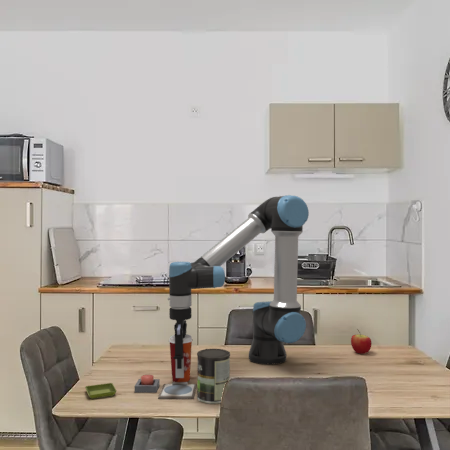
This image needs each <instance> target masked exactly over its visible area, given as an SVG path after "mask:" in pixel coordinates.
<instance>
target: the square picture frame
mask: <svg viewBox="0 0 450 450" xmlns="http://www.w3.org/2000/svg"><path fill="white" fill-rule="evenodd" d="M188 383H189V381H188V382H173V381H172V383H164V384H163V385H162V387H161V390H160V392H159V394H158V397H157V399H158V400H195V395H196V392H197V391H196V390H197V383H189V384H188Z"/></svg>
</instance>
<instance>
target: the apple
mask: <svg viewBox="0 0 450 450" xmlns="http://www.w3.org/2000/svg"><path fill="white" fill-rule="evenodd" d="M356 330H357V331H358V332H359V334H358V333H357V334H354V335H353V334H352V336H351V338H350V345H351V348H352V349H353V351H354V352H355V353H356V354H358V355H359V354H360V355H364V354H367V353H369V352H370V350H371V348H372V339H371V338H370V336H367V335H364V334H361V331H360V330H359V329H358V328H356Z"/></svg>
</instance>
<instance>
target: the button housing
mask: <svg viewBox="0 0 450 450" xmlns="http://www.w3.org/2000/svg"><path fill="white" fill-rule="evenodd" d="M160 381H161V380H160V379H159V378H155V379H154V378H153V385H141V378H138V380H137V381H136V382H135V384H134V393H153V394H154V393H157V392H158V389H159V387H160Z"/></svg>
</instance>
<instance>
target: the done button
mask: <svg viewBox="0 0 450 450" xmlns="http://www.w3.org/2000/svg"><path fill="white" fill-rule="evenodd" d="M140 379H141V385H153V379H154V375H153V374H143V375H141V376H140Z"/></svg>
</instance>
